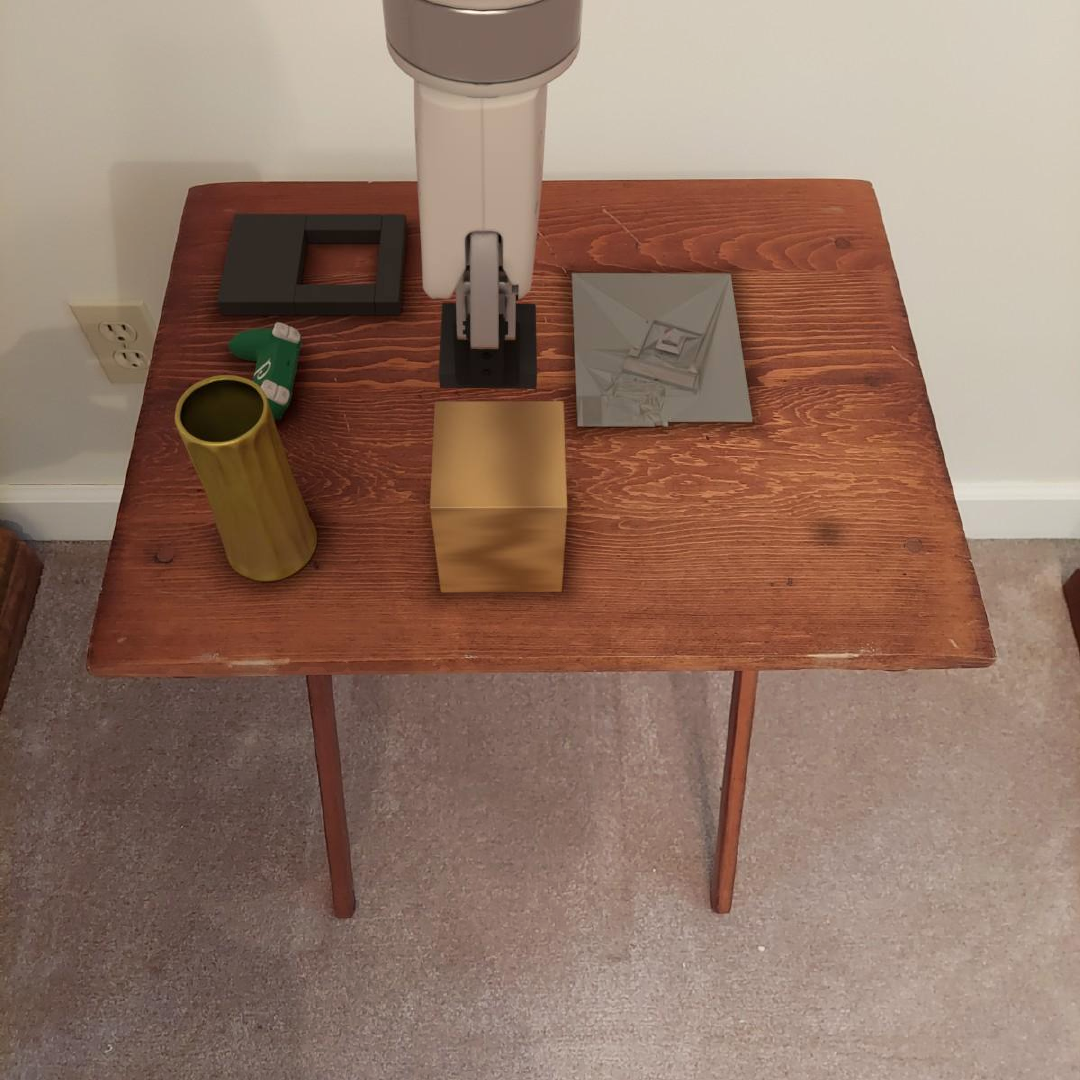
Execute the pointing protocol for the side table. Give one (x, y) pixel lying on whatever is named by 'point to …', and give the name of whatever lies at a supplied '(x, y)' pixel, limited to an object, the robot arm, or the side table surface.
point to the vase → (246, 477)
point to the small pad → (527, 346)
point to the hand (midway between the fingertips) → (488, 336)
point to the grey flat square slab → (657, 350)
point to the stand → (499, 495)
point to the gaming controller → (271, 361)
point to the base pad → (279, 255)
